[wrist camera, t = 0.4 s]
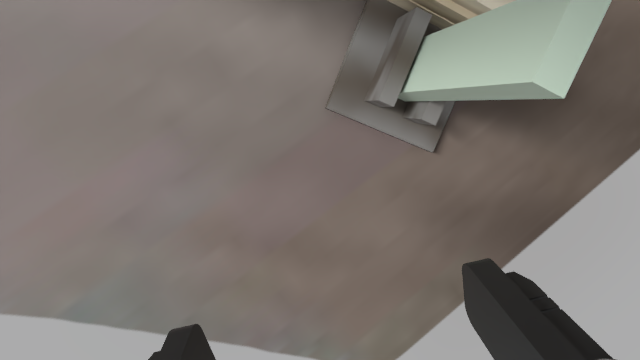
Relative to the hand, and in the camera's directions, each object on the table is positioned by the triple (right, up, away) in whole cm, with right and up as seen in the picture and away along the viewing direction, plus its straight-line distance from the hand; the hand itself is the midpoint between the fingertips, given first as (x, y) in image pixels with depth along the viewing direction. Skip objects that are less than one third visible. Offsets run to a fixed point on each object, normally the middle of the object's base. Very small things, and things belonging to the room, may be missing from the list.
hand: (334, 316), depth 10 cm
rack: (+9, +17, +23) cm, 30 cm away
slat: (+8, +14, +23) cm, 28 cm away
